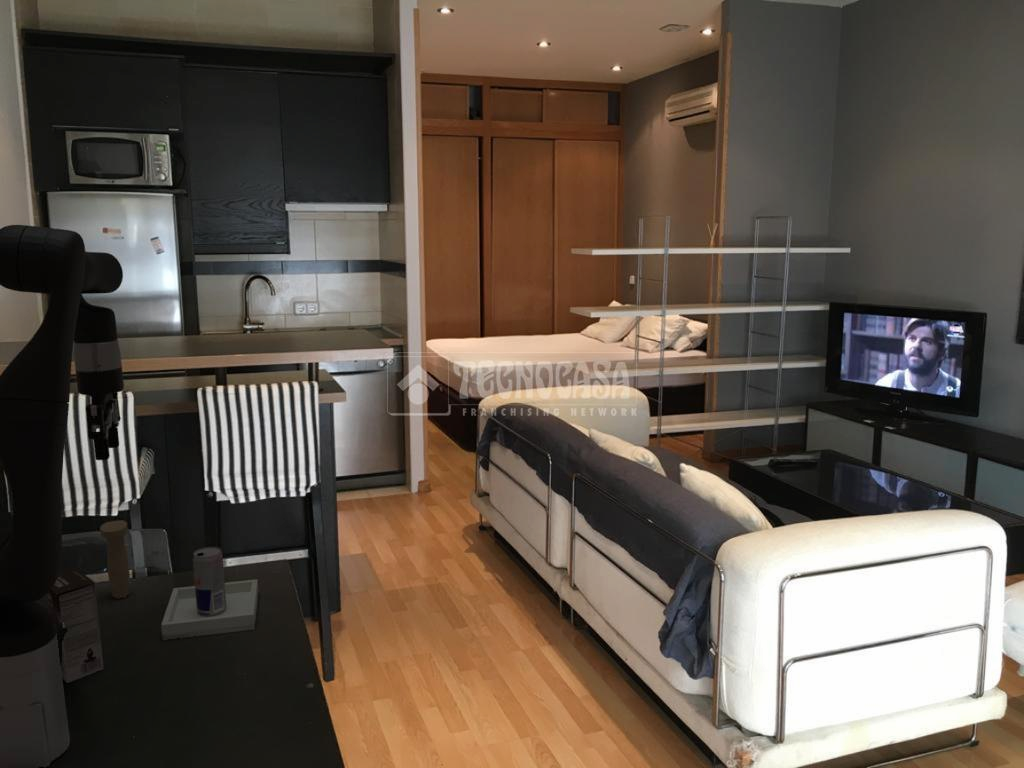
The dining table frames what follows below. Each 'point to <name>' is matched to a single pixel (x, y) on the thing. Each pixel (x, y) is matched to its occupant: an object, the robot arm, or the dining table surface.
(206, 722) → the dining table surface
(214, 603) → the energy drink
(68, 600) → the coffee box
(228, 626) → the tray
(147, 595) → the dining table surface
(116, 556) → the handle
